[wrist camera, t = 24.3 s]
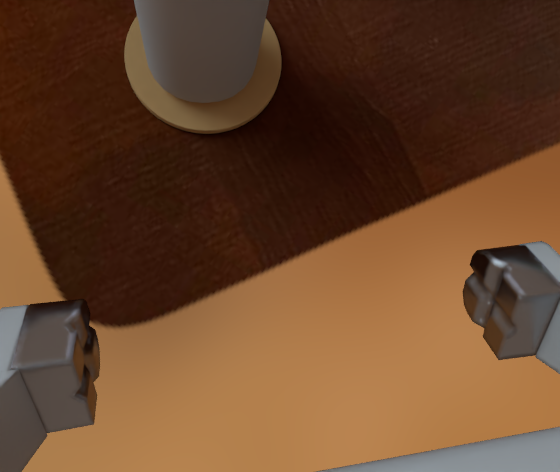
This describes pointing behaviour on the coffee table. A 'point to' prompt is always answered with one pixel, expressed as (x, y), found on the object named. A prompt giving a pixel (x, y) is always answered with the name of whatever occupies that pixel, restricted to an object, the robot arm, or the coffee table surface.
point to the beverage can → (202, 45)
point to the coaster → (205, 114)
